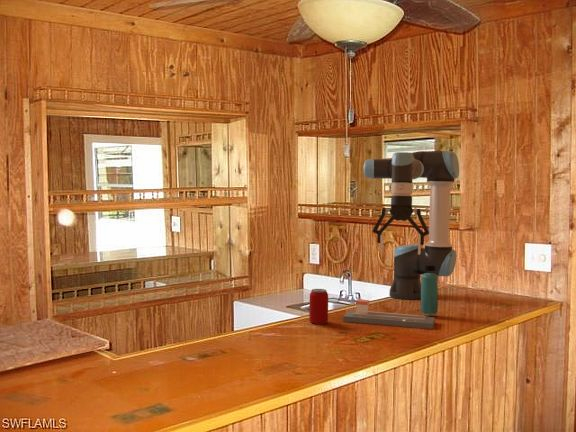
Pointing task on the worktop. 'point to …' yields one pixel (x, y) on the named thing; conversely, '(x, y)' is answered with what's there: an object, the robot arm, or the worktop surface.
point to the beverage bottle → (429, 291)
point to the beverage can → (318, 306)
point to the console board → (390, 319)
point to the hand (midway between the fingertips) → (400, 253)
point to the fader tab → (362, 306)
